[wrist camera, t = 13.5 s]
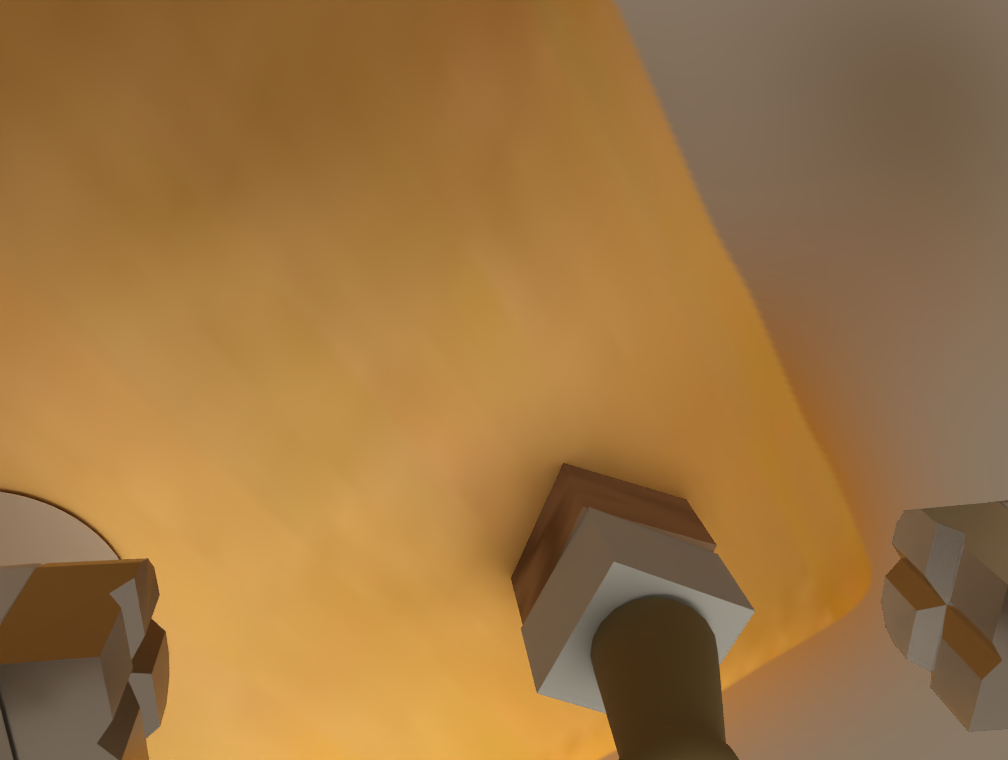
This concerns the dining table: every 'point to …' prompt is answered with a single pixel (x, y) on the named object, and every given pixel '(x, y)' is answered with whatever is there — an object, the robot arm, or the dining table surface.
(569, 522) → the walnut block
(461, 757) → the dining table surface
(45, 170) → the dining table surface
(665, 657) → the cork
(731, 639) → the grey block
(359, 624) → the dining table surface
